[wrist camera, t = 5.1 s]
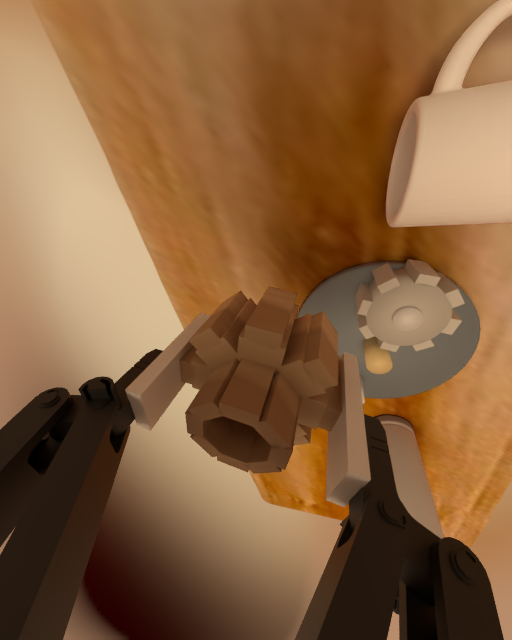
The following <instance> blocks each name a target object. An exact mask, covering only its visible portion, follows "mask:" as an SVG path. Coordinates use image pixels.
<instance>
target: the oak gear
mask: <svg viewBox="0 0 512 640" xmlns="http://www.w3.org/2000/svg"><path fill="white" fill-rule="evenodd" d="M296 295H297V293H294V292H290V291H285V290H281V289H277V288H273V287H268V289H267V290H266V292H265V294H264V295H263V297H262V298H261V300H260V302H259V303H258V305H256V304H255V303H254V301H253V300H252V299H251V298H250V299H249V300H248V299H247V298H246V297H245V295H244V294H243V293H242V291H240V292H238V293H237V294H235V295H234V296H232V297H230V298H229V299H227V300H226V301H224V302H223V303H222V304H221V305H220V306H219V307H218V308H217V309H216V310H215V312H214V313H213V314H212V315H211V316H210V317H209V318H208V319H207V320H206V321H205V323H204V324H203V325H202V326H201V327H200V328H199V329H198V330H197V331H196V333H195V334H194V335H193V336H192V337H191V338H190V339H189V341H190V343H191V344H192V346H191V348H190V349H189V350H188V351H187V352H186V353H185V355H184V356H183V357H182V358H181V359H180V360H179V362H180V371H181V380H182V381H183V382H186V383H190V384H192V387H193V388H196V389H199V390H200V391H199V392H198V394H197V395H196V397H195V398H194V400H193V401H192V403H191V405H190V406H189V408H188V409H187V411H186V412H185V414H186V423H187V432H188V433H189V434H191V436H190V437H191V438H192V439H193V440H194V441H195V442H196V443H198V444H199V445H200V446H201V447H202V448H203V449H204V450H205V451H206V452H207V453H209V455H211V456H212V457H215V456H217V460H218V461H221V462H223V463H226V464H228V465H231V466H233V467H236V468H238V469H241V470H243V471H246V472H248V470H249V469H250V470H251V471H252V472H253V473H269V472H281V469H284V470H285V469H286V466H287V464H288V461H289V459H290V457H291V454H292V452H293V446H294V445H300V444H307V443H310V438H311V428H314V429H316V428H317V427H320V428H323V429H325V430H328V431H332V429H333V427H334V425H335V424H336V422H337V420H338V418H339V416H340V415H341V413H342V404H341V363H340V356H338V332H337V331H336V329H335V328H334V326H333V325H332V323H331V322H330V320H329V319H328V317H327V316H326V314H325V313H324V311H322V312H319V313H317V314H315V315H313V316H312V315H311V314H310V313H308V314H306V315H304V316H302V317H300V318H298V319H295V317H296V313H297V309H298V305H295V299H296Z"/></svg>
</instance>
